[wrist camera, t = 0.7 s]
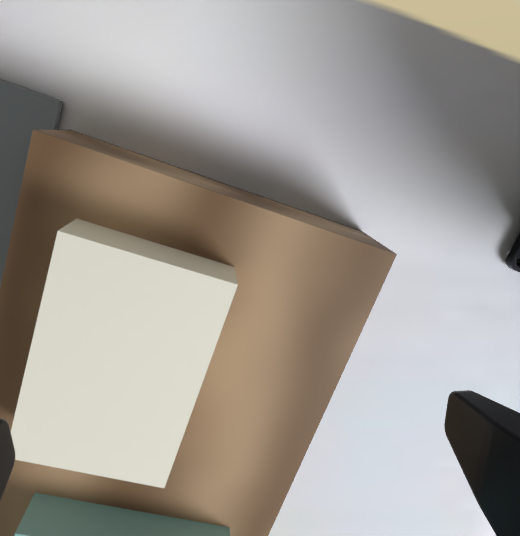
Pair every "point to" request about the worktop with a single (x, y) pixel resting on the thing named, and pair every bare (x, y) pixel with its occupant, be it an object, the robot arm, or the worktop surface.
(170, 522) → the teal rectangular block
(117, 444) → the cream box
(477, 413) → the robot arm
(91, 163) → the deck
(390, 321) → the worktop surface
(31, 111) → the mat
